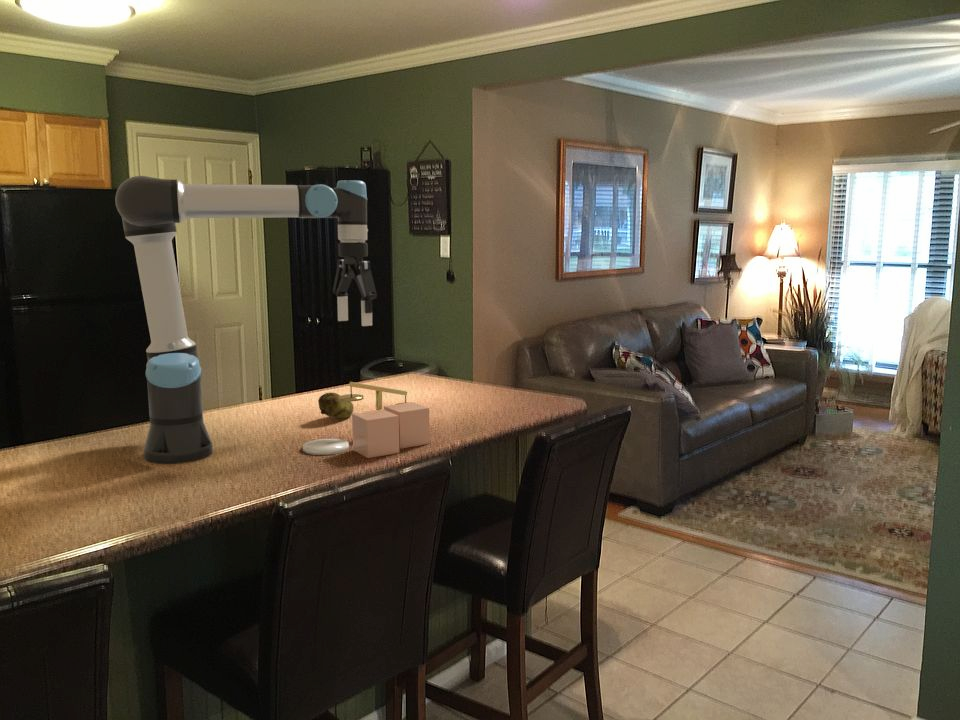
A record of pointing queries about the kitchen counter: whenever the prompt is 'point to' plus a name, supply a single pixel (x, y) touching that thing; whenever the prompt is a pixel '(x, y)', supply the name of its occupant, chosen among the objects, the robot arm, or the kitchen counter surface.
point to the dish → (325, 446)
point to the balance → (378, 389)
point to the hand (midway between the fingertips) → (354, 323)
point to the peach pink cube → (411, 423)
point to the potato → (335, 406)
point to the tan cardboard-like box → (375, 433)
